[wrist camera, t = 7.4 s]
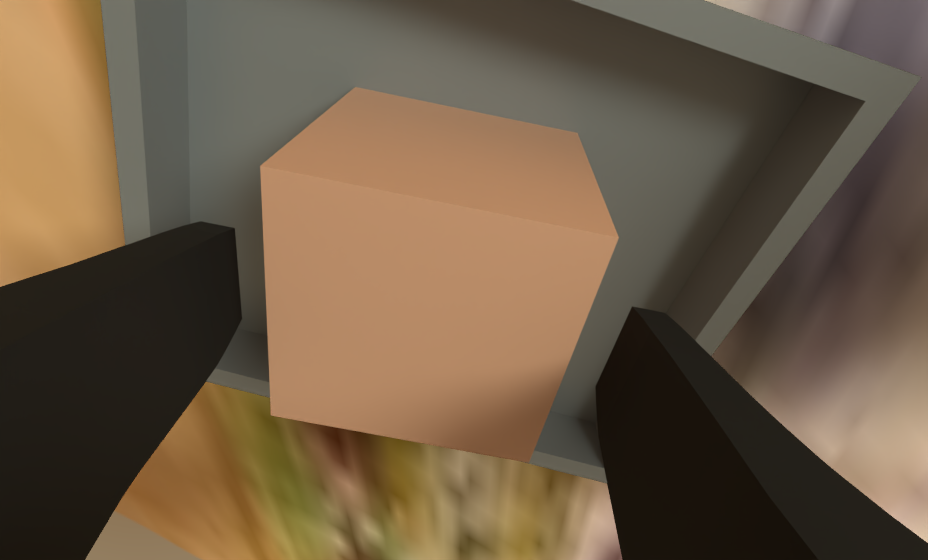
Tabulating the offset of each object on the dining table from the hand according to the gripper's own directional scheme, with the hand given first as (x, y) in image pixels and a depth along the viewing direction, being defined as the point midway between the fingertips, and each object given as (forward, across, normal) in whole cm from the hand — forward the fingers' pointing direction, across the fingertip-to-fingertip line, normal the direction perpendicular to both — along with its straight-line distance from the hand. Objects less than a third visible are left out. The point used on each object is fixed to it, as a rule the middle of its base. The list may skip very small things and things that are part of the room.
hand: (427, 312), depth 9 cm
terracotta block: (+4, 0, 0) cm, 4 cm away
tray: (+4, 0, 0) cm, 4 cm away
